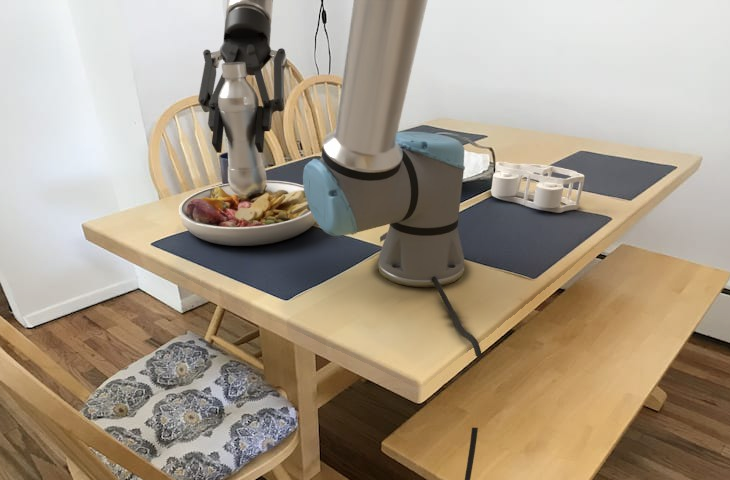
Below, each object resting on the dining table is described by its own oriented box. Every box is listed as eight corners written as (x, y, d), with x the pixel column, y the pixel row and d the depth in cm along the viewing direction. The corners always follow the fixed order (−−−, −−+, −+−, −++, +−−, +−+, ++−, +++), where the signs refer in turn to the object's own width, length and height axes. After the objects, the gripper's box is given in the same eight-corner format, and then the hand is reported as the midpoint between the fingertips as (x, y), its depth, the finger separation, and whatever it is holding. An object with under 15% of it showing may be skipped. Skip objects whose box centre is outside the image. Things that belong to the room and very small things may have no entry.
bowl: (258, 192, 137) (255, 160, 132) (350, 219, 120) (350, 183, 116) (154, 228, 118) (146, 192, 113) (246, 266, 101) (241, 225, 97)
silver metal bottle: (223, 197, 92) (203, 66, 81) (240, 185, 97) (224, 60, 87) (258, 200, 90) (243, 66, 79) (274, 187, 96) (261, 60, 85)
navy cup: (250, 196, 134) (246, 159, 130) (220, 196, 135) (215, 159, 130) (255, 186, 141) (252, 151, 136) (227, 187, 141) (222, 151, 136)
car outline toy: (479, 197, 130) (483, 166, 126) (506, 187, 136) (510, 157, 132) (557, 219, 117) (564, 185, 113) (582, 206, 124) (590, 174, 120)
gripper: (308, 38, 94) (301, 160, 89) (199, 40, 96) (186, 160, 91) (302, 3, 87) (294, 134, 82) (184, 6, 88) (169, 134, 83)
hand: (237, 147), depth 86 cm, fingers closed on silver metal bottle, 6 cm apart
